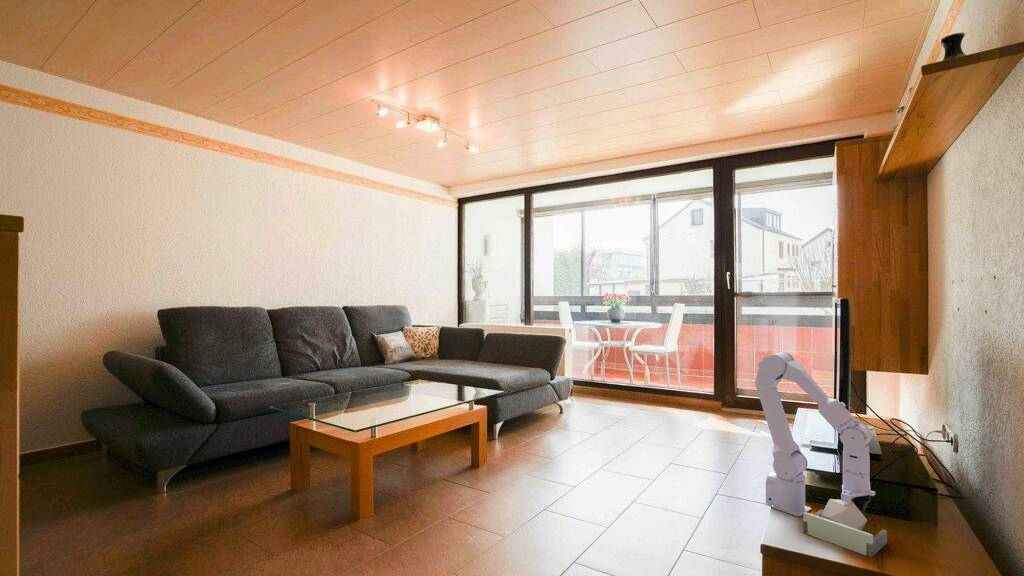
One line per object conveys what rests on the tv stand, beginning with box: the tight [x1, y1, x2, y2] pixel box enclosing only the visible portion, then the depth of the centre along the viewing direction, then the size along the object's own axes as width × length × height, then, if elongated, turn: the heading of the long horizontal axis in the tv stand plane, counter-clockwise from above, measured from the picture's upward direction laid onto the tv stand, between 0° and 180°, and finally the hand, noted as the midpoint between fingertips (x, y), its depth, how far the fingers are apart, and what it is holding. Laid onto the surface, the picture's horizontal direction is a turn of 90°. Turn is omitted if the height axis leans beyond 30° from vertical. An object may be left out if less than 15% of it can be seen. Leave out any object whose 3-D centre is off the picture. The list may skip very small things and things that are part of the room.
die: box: [821, 498, 868, 531], centre depth 123 cm, size 8×9×10 cm
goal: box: [802, 509, 888, 558], centre depth 121 cm, size 15×11×5 cm
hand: (856, 523), depth 126 cm, fingers closed
